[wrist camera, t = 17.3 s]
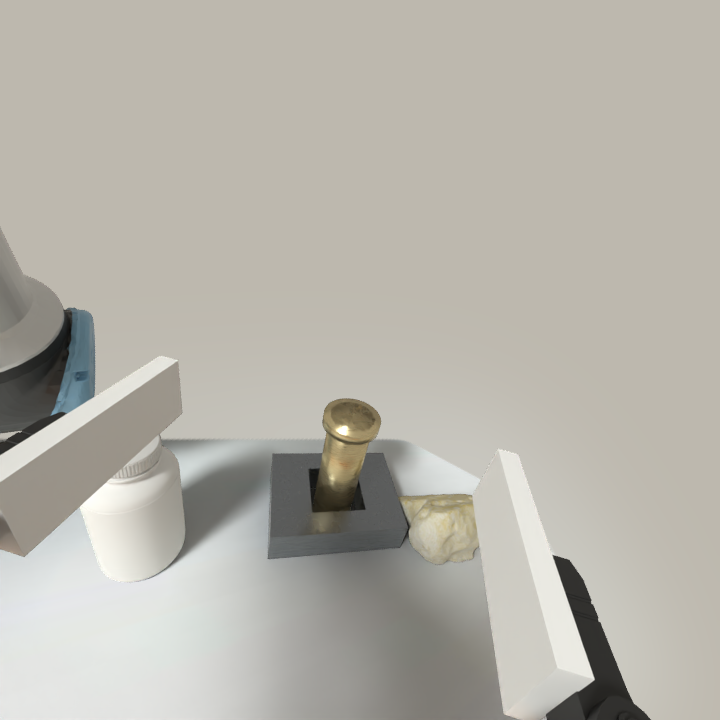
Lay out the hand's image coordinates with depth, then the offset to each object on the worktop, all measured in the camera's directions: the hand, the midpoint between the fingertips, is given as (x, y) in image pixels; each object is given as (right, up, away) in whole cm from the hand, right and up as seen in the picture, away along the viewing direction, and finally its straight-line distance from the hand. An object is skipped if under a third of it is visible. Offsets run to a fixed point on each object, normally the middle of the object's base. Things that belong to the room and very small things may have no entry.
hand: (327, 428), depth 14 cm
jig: (-3, -17, +31) cm, 36 cm away
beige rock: (+14, -21, +32) cm, 40 cm away
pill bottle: (-22, -18, +23) cm, 36 cm away
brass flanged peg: (-3, -17, +31) cm, 36 cm away
